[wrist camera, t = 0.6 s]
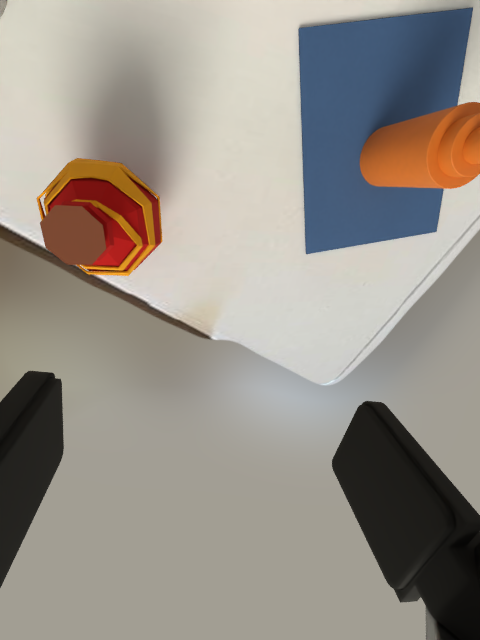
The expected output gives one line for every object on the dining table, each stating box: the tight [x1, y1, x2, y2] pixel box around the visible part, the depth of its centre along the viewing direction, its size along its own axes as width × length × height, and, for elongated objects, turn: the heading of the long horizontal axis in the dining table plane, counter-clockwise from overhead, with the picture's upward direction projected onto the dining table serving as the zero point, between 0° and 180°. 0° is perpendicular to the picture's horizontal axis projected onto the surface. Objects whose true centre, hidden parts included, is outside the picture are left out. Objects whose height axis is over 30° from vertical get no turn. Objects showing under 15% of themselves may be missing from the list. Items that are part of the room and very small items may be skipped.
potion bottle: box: [37, 158, 162, 276], centre depth 26 cm, size 10×10×15 cm
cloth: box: [299, 8, 473, 254], centre depth 33 cm, size 22×18×1 cm
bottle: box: [360, 102, 480, 189], centre depth 27 cm, size 6×6×17 cm
